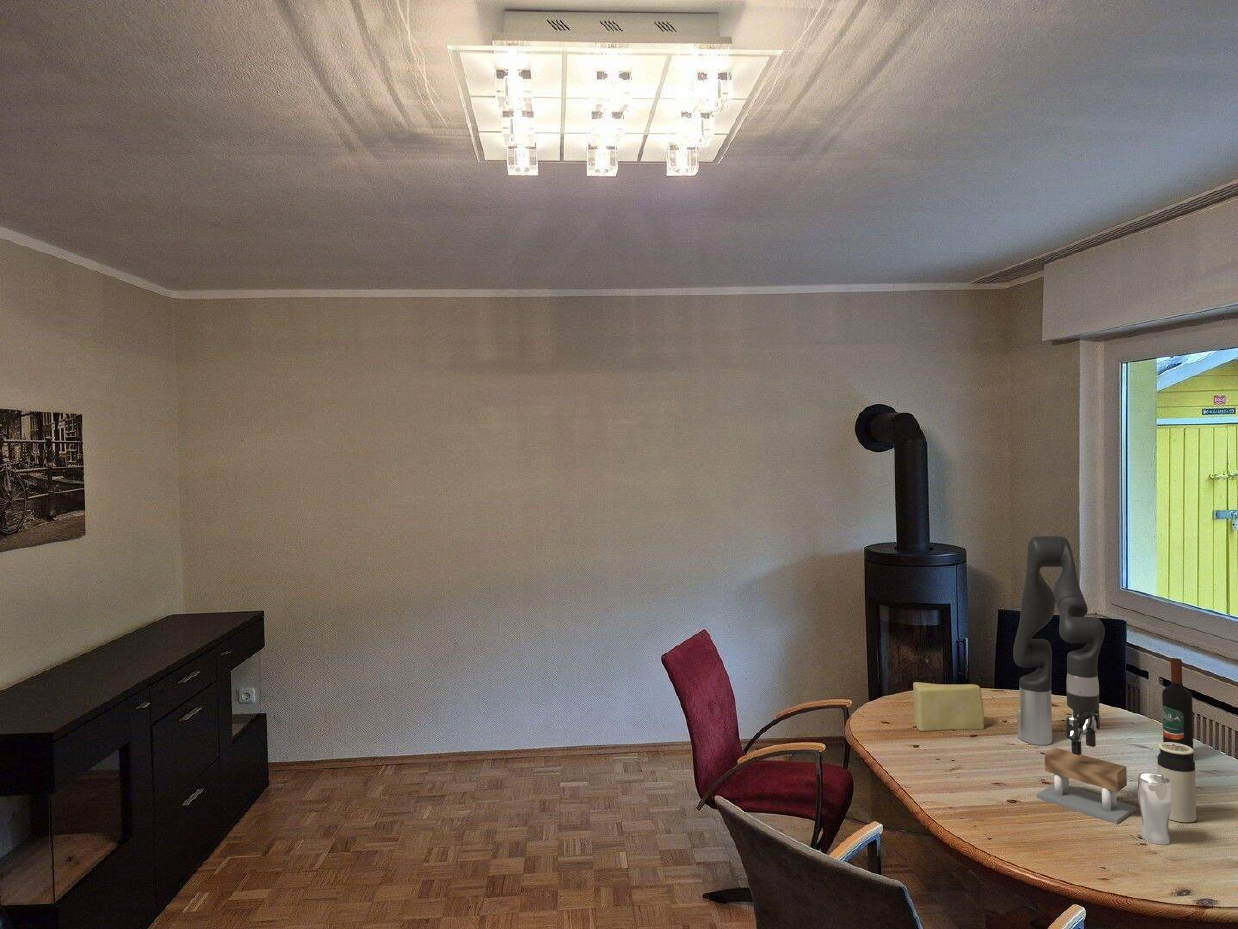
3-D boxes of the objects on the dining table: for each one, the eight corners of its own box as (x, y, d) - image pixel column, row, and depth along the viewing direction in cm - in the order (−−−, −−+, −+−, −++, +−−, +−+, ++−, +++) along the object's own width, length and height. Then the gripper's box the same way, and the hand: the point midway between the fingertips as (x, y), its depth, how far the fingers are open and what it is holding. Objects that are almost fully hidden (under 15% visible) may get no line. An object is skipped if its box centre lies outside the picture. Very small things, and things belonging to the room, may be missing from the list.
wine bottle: (1198, 762, 235) (1196, 663, 235) (1170, 761, 237) (1168, 662, 236) (1186, 752, 242) (1183, 656, 242) (1158, 751, 244) (1156, 655, 244)
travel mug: (1197, 826, 197) (1196, 755, 196) (1159, 819, 201) (1157, 749, 201) (1194, 813, 203) (1193, 744, 203) (1157, 807, 208) (1156, 739, 207)
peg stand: (1036, 797, 215) (1035, 772, 215) (1057, 785, 222) (1056, 761, 222) (1116, 824, 199) (1116, 797, 199) (1136, 810, 206) (1135, 783, 206)
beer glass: (1131, 833, 194) (1130, 773, 194) (1158, 831, 195) (1156, 771, 195) (1153, 847, 188) (1151, 785, 187) (1180, 844, 188) (1178, 783, 188)
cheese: (979, 724, 273) (978, 681, 273) (988, 734, 263) (986, 689, 263) (913, 722, 277) (912, 680, 276) (919, 732, 267) (918, 688, 267)
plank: (1126, 785, 205) (1126, 766, 205) (1117, 792, 202) (1117, 773, 202) (1054, 765, 220) (1054, 747, 219) (1045, 771, 216) (1044, 753, 216)
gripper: (1085, 700, 203) (1087, 761, 203) (1109, 688, 211) (1110, 747, 212) (1055, 693, 209) (1056, 753, 209) (1079, 682, 217) (1080, 739, 218)
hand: (1083, 750), depth 211 cm, fingers open, 8 cm apart
